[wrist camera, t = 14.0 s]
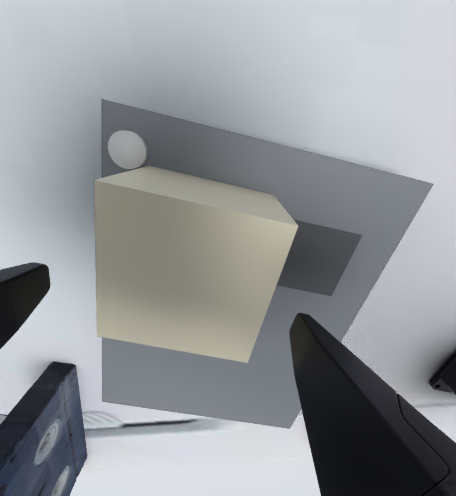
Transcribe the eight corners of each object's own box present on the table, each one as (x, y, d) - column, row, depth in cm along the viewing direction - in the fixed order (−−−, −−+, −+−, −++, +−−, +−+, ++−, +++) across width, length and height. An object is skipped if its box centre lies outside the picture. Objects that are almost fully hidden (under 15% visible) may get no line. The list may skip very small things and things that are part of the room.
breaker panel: (397, 176, 15) (442, 185, 12) (283, 397, 25) (291, 435, 22) (126, 107, 14) (95, 96, 11) (116, 371, 24) (98, 408, 20)
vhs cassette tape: (51, 359, 23) (-64, 497, 14) (81, 363, 23) (-13, 502, 14) (65, 453, 31) (-4, 584, 22) (88, 456, 31) (29, 586, 22)
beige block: (273, 194, 13) (298, 225, 8) (243, 294, 16) (247, 363, 11) (149, 165, 12) (93, 180, 7) (141, 274, 15) (97, 336, 10)
